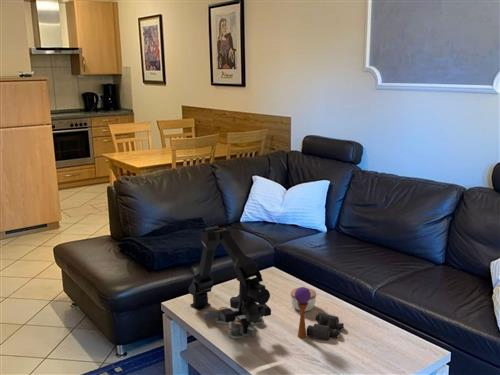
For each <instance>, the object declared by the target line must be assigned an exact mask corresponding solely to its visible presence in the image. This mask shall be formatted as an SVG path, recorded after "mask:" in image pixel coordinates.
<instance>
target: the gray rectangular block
mask: <svg viewBox="0 0 500 375" xmlns="http://www.w3.org/2000/svg"><path fill="white" fill-rule="evenodd" d="M230 331H231V333H232V334H233V335H240V334H244V333H243V327H242V324H241V322H240V321H233V322H232V323H231V329H230ZM244 335H245V336H247V337H251V338H254V337H255V336H256V328H254V327H250V326H249V327H248V329H247V334H244Z"/></svg>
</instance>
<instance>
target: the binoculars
mask: <svg viewBox="0 0 500 375" xmlns="http://www.w3.org/2000/svg"><path fill="white" fill-rule="evenodd" d="M315 321H317V322H316V323H314V324H313V325H310V324H309V325H307V326H306V337H307V336H308V337H311V338H315V339H320V340H324V341H328V340H330V337H333V338H336V339H338V337H339V336H338V335H340V332H342V330H343V329H344V323H343V322H340V318H339V317H338V316H337V315H332V314H328V313H326V312H325V313H323V312H318V314H316V315H315ZM341 329H342V330H341ZM337 336H338V337H337Z"/></svg>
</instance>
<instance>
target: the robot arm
mask: <svg viewBox="0 0 500 375" xmlns="http://www.w3.org/2000/svg"><path fill="white" fill-rule="evenodd" d="M200 241H201V243H202V244H203V246H202V247H203V248H202V251H201V256H200V257H201V259H200V262H199V269H198V272H197V273H196V274H195V276H193V279H192V281H191V284H190V285H189V287H188V294H190V295H191V296H192V303H191V304H190V306H191V307H192V308H194V309H197V310H199V311H201V310H202V309H205V308H208V307H210V306H211V303H210V302H209V297H208V293H209V292H210V293H211V292H212V288H213V287H214V282H215V281H214V279H213V278H212V276H211V272H212V267H213V261H214V256H215V251H216V249H217V247H218V246H219V245H222V247H223V248H224V250H225V252H226V253H227V255H228V256H229V258H230V259H231V261H232V263H233V264H234V265H233V270H234V271H235V274H236V276H237V277H236V281H237V282H239V284H238V286H239V290H238V294H237V295H238V298H239V305H237V308H238V311H233V310H232V309H231V308H229V307H227V308H228V309H222V310H221V312H220V317H221V318H222V319H223V320H224V321H225V322H233V321H234V320H235V319H236V317H237V318H238V319H239V321H240V322H241V324H242V327H243V333H244V334H247V329H248V327H250V323H251V322H253V321H259V319H260V317H261V318H263V317H268V316H271V315H272V309H271V307H269V306H268V304H267V303H268V302H269V300H270V299H271V298H270V297H271V293H270V291H269V290H268V288H266V285H264V284H262V283H261V282H263V281H264V279H263V278H262V276H263V275H262V274H261V271H260V269H259V267H258V265H257V263H256V262H255V261H254V260H253V259H252V257H250V256H247V255H246V254H245V253H244V252H243V251H242V248H240V247H239V244H237V242H236V240H235V239H234V237H233V236H232V234H231V231H230V229H228V228H220V227H219V226H218V225H217V226H212V227H207V228H204V229H202V230H201V233H200ZM256 302H257V305H256Z"/></svg>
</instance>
